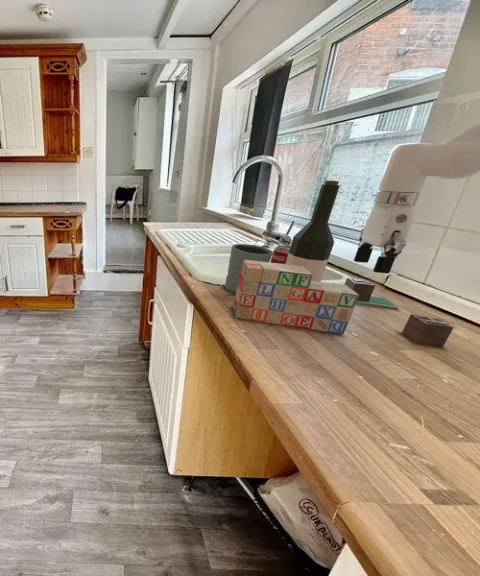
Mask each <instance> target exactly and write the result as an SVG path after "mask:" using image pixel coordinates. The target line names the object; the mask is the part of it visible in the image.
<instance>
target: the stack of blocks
mask: <svg viewBox="0 0 480 576" xmlns="http://www.w3.org/2000/svg"><path fill="white" fill-rule="evenodd" d="M312 276H313V275H312V274H311V273H310V272H309V271H308V270H306V269H305V268H304V267H303V266H296V265H287V264H279V263H270V262H269V263H268V262H258V261H251V260H244V262H243V267H242V271H241V273H240V277H239V281H238V287H237V292H236V293H235V295H234V300H233V305H232V308H233V312H234V316H235V318H237V319H244V320H250V321H255V322H262V323H267V324H274V325H281V326H288V327H295V328H296V327H297V328H300V329H307V330H313V331H319V332H325V333H330V334H331V333H332V334H338V335H344V334H345V333H346V332H345V331H346V330H347V327H348V325H349V322H350V320H351V317H352V315H353V313H354V310H355V308H356V307H355V306H356V304H357V303H356V302H357V299H358V296H359V295H358V294H357V293H356V292H354V291H353V290H351V289H350V288H349V287H348V286H346V285H344V284H340V283H334V282H327V281H321V282H319V281H312V280H311V279H312Z"/></svg>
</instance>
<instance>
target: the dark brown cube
mask: <svg viewBox="0 0 480 576" xmlns="http://www.w3.org/2000/svg"><path fill="white" fill-rule="evenodd" d="M343 285H346V286H348V287H349V288H350V289H351V290H353V291H354V292H356V293H357V294H358V295H359V296H358V299H357V300H362V301H369V300H370V297H371V296H373V292H374V290H375V288H376V284H374V283H372V282H371V281H370V280H368V279H363V278H356V277H355V278H354V277H346V279H345V282H344V284H343Z"/></svg>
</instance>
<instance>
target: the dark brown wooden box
mask: <svg viewBox="0 0 480 576" xmlns="http://www.w3.org/2000/svg"><path fill="white" fill-rule="evenodd" d="M453 330H454V326H453V325H451V324H449V323H447V322H446V321H444V320H442V319H441V318H439V317H437V316H431V315H423V314H416V313H410V315H409V317H408V319H407V321H406V323H405V325H404V327H403V329H402V330H401V333H402V334H403V335H405V336H406V337H408V338H409V339H410V340H411V341H413V342H414V343H415V344H420V345H426V346H434V347H438V348H439V347H440V348H443V347H444V346H445V344H446V343H447V341H448V339H449V337H450V335H451V333H452V332H453Z"/></svg>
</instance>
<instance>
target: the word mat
mask: <svg viewBox="0 0 480 576" xmlns="http://www.w3.org/2000/svg"><path fill="white" fill-rule="evenodd" d="M356 304H359V305H364V306H365V305H366V306H373V307H380V308H388V309H395V310H399V306H398V305H396V304H394V303H393V302H391V301H390V300H388V299H387V298H385V297H384V296H377V295H371V297H370V300H369V301H362V300H357V302H356Z"/></svg>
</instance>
